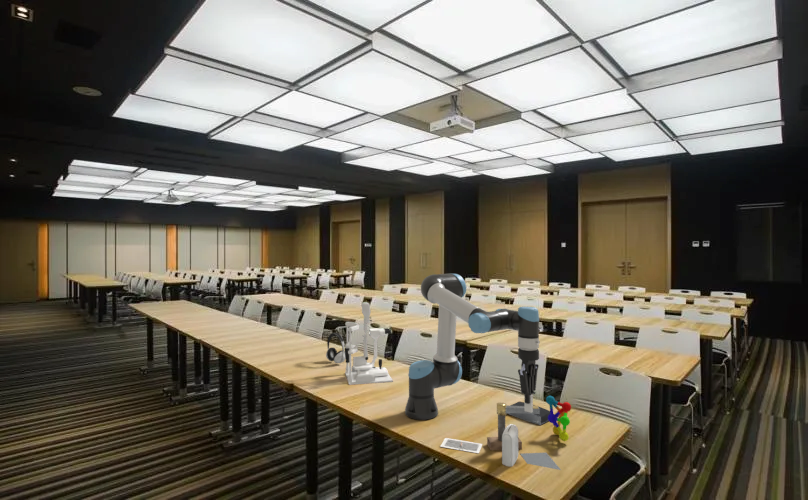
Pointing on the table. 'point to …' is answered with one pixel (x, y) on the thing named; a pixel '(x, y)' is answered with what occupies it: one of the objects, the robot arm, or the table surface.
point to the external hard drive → (532, 415)
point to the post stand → (499, 436)
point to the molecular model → (562, 417)
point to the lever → (514, 409)
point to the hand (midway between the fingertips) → (528, 411)
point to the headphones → (332, 353)
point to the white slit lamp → (365, 354)
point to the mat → (540, 460)
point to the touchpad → (461, 445)
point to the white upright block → (510, 445)
